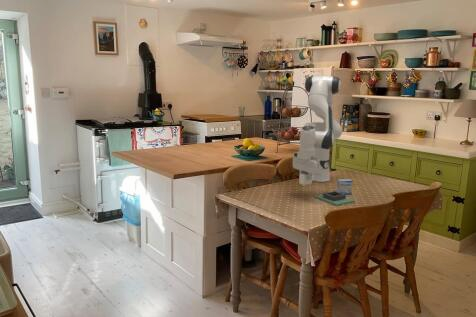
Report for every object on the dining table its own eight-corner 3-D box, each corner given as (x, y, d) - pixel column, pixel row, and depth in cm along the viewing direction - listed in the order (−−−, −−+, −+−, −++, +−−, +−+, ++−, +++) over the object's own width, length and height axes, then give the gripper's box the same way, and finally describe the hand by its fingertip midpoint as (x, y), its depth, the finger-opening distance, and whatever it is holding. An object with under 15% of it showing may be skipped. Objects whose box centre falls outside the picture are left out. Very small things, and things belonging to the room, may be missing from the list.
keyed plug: (299, 183, 223) (299, 171, 222) (307, 182, 226) (307, 170, 225) (303, 185, 220) (304, 173, 218) (311, 183, 223) (312, 172, 221)
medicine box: (339, 195, 231) (340, 181, 229) (336, 193, 235) (336, 179, 233) (351, 194, 232) (352, 180, 230) (348, 192, 236) (349, 178, 235)
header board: (313, 197, 225) (314, 191, 225) (331, 194, 232) (332, 188, 232) (336, 206, 210) (336, 199, 210) (354, 202, 217) (355, 196, 217)
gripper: (324, 158, 212) (322, 182, 215) (299, 151, 230) (298, 174, 232) (315, 159, 209) (314, 184, 212) (291, 152, 226) (290, 175, 229)
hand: (305, 179), depth 222 cm, fingers closed on keyed plug, 4 cm apart
